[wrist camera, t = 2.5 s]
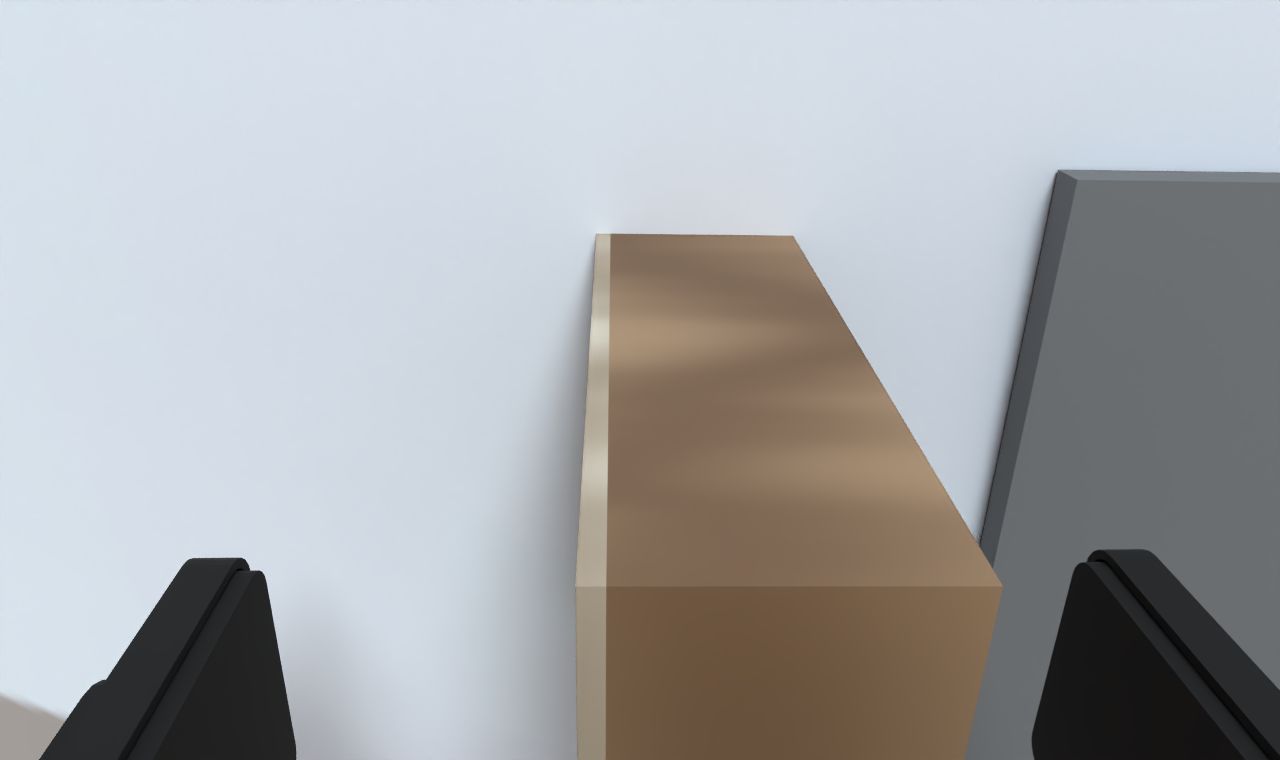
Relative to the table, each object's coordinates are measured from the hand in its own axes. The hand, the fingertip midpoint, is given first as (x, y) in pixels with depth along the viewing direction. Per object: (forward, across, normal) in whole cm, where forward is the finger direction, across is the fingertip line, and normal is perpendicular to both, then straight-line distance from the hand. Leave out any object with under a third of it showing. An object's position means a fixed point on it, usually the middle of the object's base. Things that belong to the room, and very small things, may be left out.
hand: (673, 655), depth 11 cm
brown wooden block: (+4, 0, 0) cm, 4 cm away
